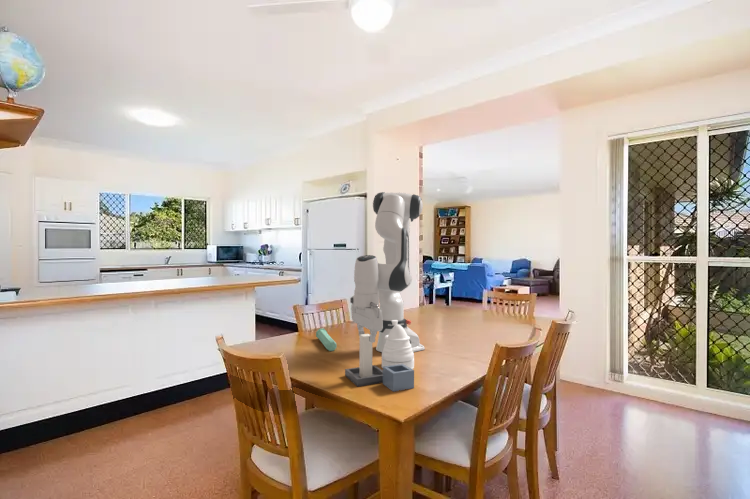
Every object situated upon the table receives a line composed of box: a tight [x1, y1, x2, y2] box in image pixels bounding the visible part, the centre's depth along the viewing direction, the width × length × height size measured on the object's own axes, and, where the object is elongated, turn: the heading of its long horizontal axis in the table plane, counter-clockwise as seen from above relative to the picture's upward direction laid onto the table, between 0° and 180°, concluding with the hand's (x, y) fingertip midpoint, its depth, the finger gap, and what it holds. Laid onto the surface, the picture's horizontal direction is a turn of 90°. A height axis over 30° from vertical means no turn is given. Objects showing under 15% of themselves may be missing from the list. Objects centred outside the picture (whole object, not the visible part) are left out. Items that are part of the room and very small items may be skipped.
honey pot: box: [381, 320, 415, 370], centre depth 157 cm, size 13×13×18 cm
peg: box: [358, 333, 373, 378], centre depth 142 cm, size 4×4×15 cm
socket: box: [382, 364, 415, 392], centre depth 135 cm, size 8×8×6 cm
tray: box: [344, 364, 383, 388], centre depth 143 cm, size 12×12×2 cm
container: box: [315, 327, 337, 352], centre depth 190 cm, size 6×6×25 cm
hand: (366, 339), depth 142 cm, fingers open, 8 cm apart
